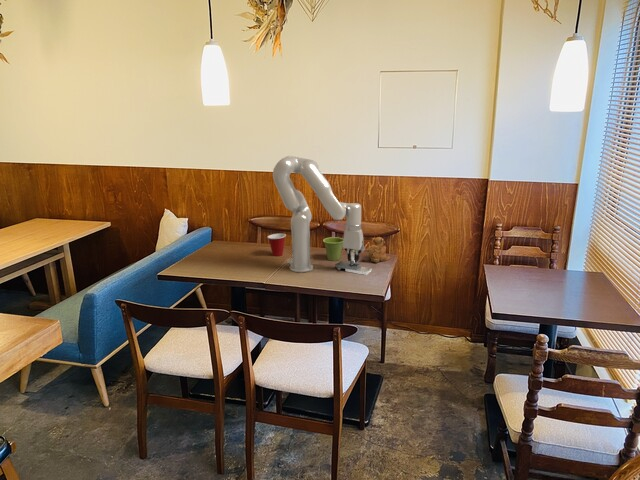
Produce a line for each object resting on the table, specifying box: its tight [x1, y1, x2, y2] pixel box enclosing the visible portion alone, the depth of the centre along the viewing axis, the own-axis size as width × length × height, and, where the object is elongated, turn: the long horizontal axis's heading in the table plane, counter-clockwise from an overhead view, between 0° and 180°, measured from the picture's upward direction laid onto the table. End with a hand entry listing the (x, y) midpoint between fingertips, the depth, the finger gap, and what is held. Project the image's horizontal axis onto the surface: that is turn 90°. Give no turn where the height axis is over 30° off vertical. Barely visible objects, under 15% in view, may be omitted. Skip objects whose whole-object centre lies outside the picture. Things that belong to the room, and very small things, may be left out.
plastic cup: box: [267, 233, 287, 257], centre depth 283 cm, size 11×11×12 cm
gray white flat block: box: [334, 260, 373, 276], centre depth 257 cm, size 18×7×3 cm, turn 62°
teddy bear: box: [365, 236, 391, 264], centre depth 271 cm, size 10×14×13 cm
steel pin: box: [349, 249, 357, 265], centre depth 255 cm, size 3×3×8 cm
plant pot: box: [322, 236, 343, 261], centre depth 275 cm, size 12×12×11 cm
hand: (353, 260), depth 256 cm, fingers closed on steel pin, 3 cm apart
